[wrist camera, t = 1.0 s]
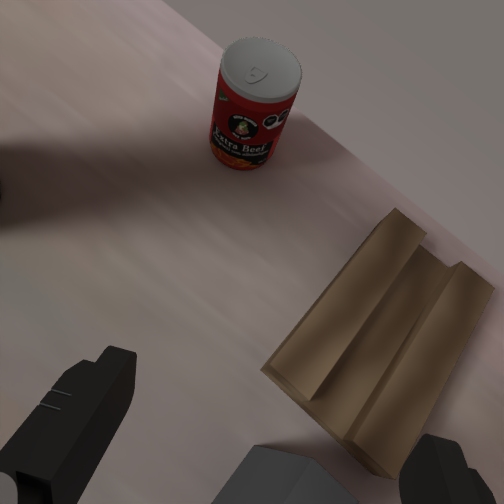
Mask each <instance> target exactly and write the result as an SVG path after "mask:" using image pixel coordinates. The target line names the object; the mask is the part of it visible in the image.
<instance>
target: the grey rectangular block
mask: <svg viewBox="0 0 504 504" xmlns="http://www.w3.org/2000/svg"><path fill="white" fill-rule="evenodd" d="M358 503H359V501H358V500H357V499H356V498H354V497H353V496H352V495H351V494H350V493H349V492H348V491H347V490H346V489H345V488H344V487H343V486H342V485H341V484H340V483H339V482H338V481H337V480H335V479H334V478H333V477H332V476H331V475H330V474H329V473H328V472H327V471H326V470H325V469H324V468H323V467H322V466H321V465H320V464H319V463H317V462H316V461H315V460H314V459H313V458H310V457H306V456H301V455H297V454H292V453H288V452H283V451H278V450H274V449H269V448H265V447H260V446H255V445H254V446H253V447H252V449H251V450H250V451H249V453H248V454H247V456H246V457H245V458H244V460H243V461H242V462H241V464H240V465H239V466H238V468H237V469H236V471H235V472H234V473H233V475H232V476H231V477H230V479H229V480H228V481H227V483H226V484H225V486H224V487H223V488H222V490H221V491H220V492H219V494H218V495H217V496H216V498H215V499H214V500H213V502H212V503H211V504H358Z"/></svg>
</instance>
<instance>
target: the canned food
mask: <svg viewBox="0 0 504 504" xmlns="http://www.w3.org/2000/svg"><path fill="white" fill-rule="evenodd" d="M301 79H302V69H301V66H300V63H299V61H298V60H297V58H296V57H295V56H294V54H293V53H292V52H290V50H288V49H287V48H285V47H284V46H283V45H281V44H279V43H277V42H274V41H272V40H269V39H264V38H257V37H250V38H243V39H239V40H237V41H235V42H233V43H231V44H230V45H229V46H228V47H227V48H226V49H225V51H224V53H223V55H222V59H221V63H220V69H219V74H218V81H217V88H216V94H215V101H214V108H213V115H212V121H211V128H210V135H209V139H210V145H211V148H212V151H213V153H214V155H215V156H216V157H217V158H218V160H219V161H221V162H222V163H223V164H225V165H227V166H228V167H231V168H234V169H238V170H251V169H255V168H257V167H260V166H261V165H263V164H264V163H265V162H266V161H267V160H268V159H269V158H270V157H271V155H272V154H273V152H274V149H275V147H276V144H277V142H278V139H279V137H280V134H281V132H282V129H283V127H284V124H285V122H286V119H287V117H288V115H289V112H290V110H291V107H292V105H293V102H294V100H295V97H296V94H297V92H298V89H299V86H300V83H301Z"/></svg>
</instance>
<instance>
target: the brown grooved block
mask: <svg viewBox="0 0 504 504" xmlns="http://www.w3.org/2000/svg"><path fill="white" fill-rule="evenodd" d="M426 234H427V233H426V232H425V231H424V230H422V229H421V228H420V227H419V226H417V225H416V224H415V223H414V222H412V221H411V220H410V219H409V218H407V217H406V216H405V215H404V214H402V213H401V212H400V211H399V210H397V209H396V208H394V209H393V210H392V211H391V212H390V213H389V214H388V215H387V216H386V217H385V218H384V219H383V220H381V221H380V222H379V223H378V225H377V226H376V227H375V228H374V230H373V231H372V232H371V233H370V235H369V236H368V237H367V238H366V239H365V241H364V242H363V243H362V244H361V246H360V247H359V248H358V249H357V251H356V252H355V253H354V254H353V256H352V257H351V258H350V259H349V261H348V262H347V263H346V264H345V265H344V267H343V268H342V269H341V270H340V272H339V273H338V274H337V275H336V277H335V278H334V279H333V280H332V282H331V283H330V284H329V285H328V287H327V288H326V289H325V290H324V291H323V293H322V294H321V295H320V296H319V298H318V299H317V300H316V301H315V303H314V304H313V305H312V306H311V308H310V309H309V310H308V311H307V312H306V314H305V315H304V316H303V317H302V319H301V320H300V321H299V322H298V324H297V325H296V326H295V327H294V329H293V330H292V331H291V332H290V334H289V335H288V336H287V337H286V338H285V340H284V341H283V342H282V343H281V345H280V346H279V347H278V348H277V350H276V351H275V352H274V353H273V355H272V356H271V357H270V358H269V359H268V361H267V362H266V363H265V364H264V366H263V367H262V368H261V369H260V370H261V371H262V372H263V373H264V374H265V375H266V376H268V377H269V378H270V379H271V380H272V381H273V382H274V383H275V384H276V385H277V386H278V387H279V388H280V389H282V390H283V391H284V392H285V393H286V394H287V395H288V396H289V397H290V398H291V399H292V400H293V401H294V402H296V403H297V404H298V405H299V406H300V407H301V408H302V409H303V410H304V411H305V412H306V413H307V414H308V415H310V416H311V417H312V418H313V419H314V420H315V421H316V422H317V423H318V424H319V425H320V426H321V427H322V428H324V429H325V430H326V431H327V432H328V433H329V434H330V435H331V436H332V437H333V438H334V439H335V440H336V441H338V442H339V443H340V444H341V445H342V446H343V447H344V448H345V449H346V450H347V451H348V452H349V453H350V454H352V455H353V456H354V457H355V458H356V459H357V460H358V461H359V462H360V463H361V464H362V465H363V466H364V467H366V468H367V469H368V470H369V471H370V472H371V473H372V474H373V475H377V476H381V477H385V478H389V479H394V480H396V478H397V476H398V474H399V472H400V470H401V468H402V466H403V464H404V462H405V460H406V459H407V457H408V455H409V453H410V451H411V449H412V447H413V445H414V443H415V441H416V439H417V437H418V435H419V433H420V432H421V430H422V428H423V426H424V424H425V422H426V420H427V418H428V416H429V414H430V412H431V410H432V408H433V407H434V405H435V403H436V401H437V399H438V397H439V395H440V393H441V391H442V389H443V387H444V385H445V383H446V381H447V380H448V378H449V376H450V374H451V372H452V370H453V368H454V366H455V364H456V362H457V360H458V358H459V356H460V354H461V353H462V351H463V349H464V347H465V345H466V343H467V341H468V339H469V337H470V335H471V333H472V331H473V329H474V328H475V326H476V324H477V322H478V320H479V318H480V316H481V314H482V312H483V310H484V308H485V306H486V304H487V302H488V301H489V299H490V297H491V295H492V293H493V291H494V289H495V288H494V287H493V286H492V285H491V284H489V283H488V282H487V281H486V280H484V279H483V278H482V277H481V276H479V275H478V274H477V273H476V272H474V271H473V270H472V269H471V268H469V267H468V266H467V265H466V264H464V263H463V262H462V261H461V262H459V263H457V264H455V265H453V266H452V267H450V268H448V267H447V266H445V265H444V264H443V263H442V262H441V261H439V260H438V259H437V258H436V257H434V256H433V255H432V254H431V253H429V252H428V251H427V250H426V249H425V248H423V247H422V246H421V245H420V242H421V241H422V239H423V238H424V237H425V235H426Z"/></svg>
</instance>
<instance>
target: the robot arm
mask: <svg viewBox="0 0 504 504" xmlns="http://www.w3.org/2000/svg"><path fill="white" fill-rule="evenodd" d="M0 196H1V183H0ZM136 361H137V354H136V352H132V351H129V350H125V349H121V348H118V347H114V346H108V347H107V348H106V349H105V350H104V351H103V353H102V354H101V355H100V357H99V358H98V359H97V361H96V362H91V361H88V360H82V361H80V362H79V363H77V364H76V365H74V366H73V367H71V368H70V369H68V370H66V371H65V372H64V373H63V374H62V376H61V377H60V378H59V379H58V381H57V382H56V383H55V384H54V385H53V387H52V388H51V391H49V392H48V393H47V394H46V395H45V397H44V398H43V399H42V400H41V401H40V404H39V405H37V406H36V408H35V409H34V410H33V411H32V412H31V414H30V415H29V416H28V417H27V419H26V420H25V421H24V422H23V424H22V425H21V426H20V427H19V428H18V430H17V431H16V432H15V433H14V435H13V436H12V437H11V438H10V439H9V441H8V442H7V443H6V444H5V446H4V447H3V448H2V449H1V451H0V504H77V503H78V501H79V499H80V497H81V495H82V493H83V492H84V490H85V488H86V486H87V484H88V482H89V481H90V479H91V477H92V475H93V473H94V471H95V470H96V468H97V466H98V464H99V462H100V460H101V459H102V457H103V455H104V453H105V451H106V450H107V448H108V446H109V444H110V442H111V440H112V439H113V437H114V435H115V433H116V431H117V429H118V428H119V426H120V424H121V422H122V420H123V418H124V417H125V415H126V413H127V411H128V409H129V406H130V404H131V401H132V398H133V394H134V389H135V375H136ZM399 491H400V497H401V502H402V504H496V501H495V498H494V496H493V493H492V492H491V490H490V489H489V487H488V486H487V485H486V483H485V482H484V480H483V479H482V478H481V476H480V475H479V473H478V472H477V470H475V469H471V468H468V466H467V463H466V460H465V458H464V455H463V452H462V450H461V447H460V446H459V444H458V443H457V442H455V441H451V440H448V439H444V438H441V437H437V436H433V435H430V434H424V435H423V436H422V437H421V439H420V440H419V442H418V443H417V445H416V446H415V448H414V449H413V451H412V452H411V454H410V455H409V457H408V458H407V460H406V461H405V463H404V464H403V466H402V469H401V472H400V477H399Z"/></svg>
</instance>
